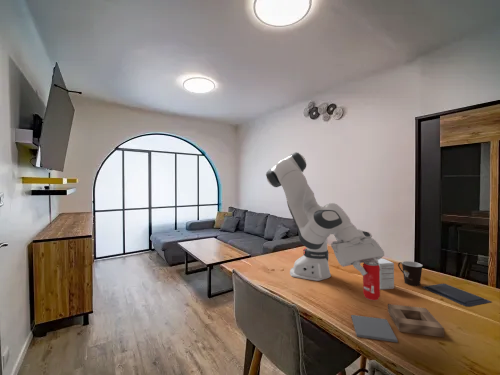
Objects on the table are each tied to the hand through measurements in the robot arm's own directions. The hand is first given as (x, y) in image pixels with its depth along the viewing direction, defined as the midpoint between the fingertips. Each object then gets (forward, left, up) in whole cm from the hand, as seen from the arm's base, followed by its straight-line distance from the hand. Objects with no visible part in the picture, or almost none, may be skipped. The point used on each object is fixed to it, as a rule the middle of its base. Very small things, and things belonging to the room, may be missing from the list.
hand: (372, 273), depth 81 cm
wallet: (+42, +37, -21) cm, 60 cm away
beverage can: (0, 0, -9) cm, 9 cm away
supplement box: (+13, +40, -20) cm, 46 cm away
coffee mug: (+28, +48, -20) cm, 59 cm away
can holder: (+15, +8, -20) cm, 26 cm away
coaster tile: (0, +1, -20) cm, 20 cm away
